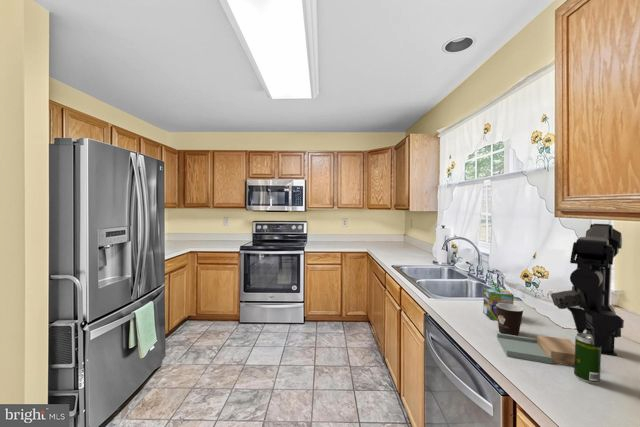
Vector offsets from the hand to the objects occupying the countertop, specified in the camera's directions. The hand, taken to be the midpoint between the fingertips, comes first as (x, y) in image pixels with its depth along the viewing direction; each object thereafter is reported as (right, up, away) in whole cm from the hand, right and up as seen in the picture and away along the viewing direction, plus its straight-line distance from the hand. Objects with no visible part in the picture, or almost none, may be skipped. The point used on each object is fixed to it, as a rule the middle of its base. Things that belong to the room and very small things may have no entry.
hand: (588, 339), depth 81 cm
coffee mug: (-3, -11, +31) cm, 33 cm away
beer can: (0, -11, 0) cm, 11 cm away
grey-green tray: (-7, -11, +17) cm, 21 cm away
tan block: (+3, -11, +13) cm, 17 cm away
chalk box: (+3, -10, +46) cm, 47 cm away
